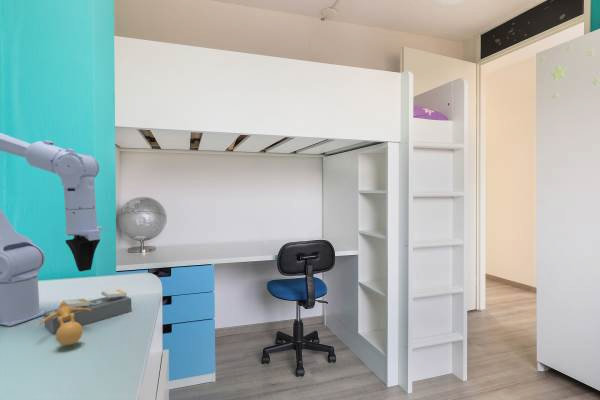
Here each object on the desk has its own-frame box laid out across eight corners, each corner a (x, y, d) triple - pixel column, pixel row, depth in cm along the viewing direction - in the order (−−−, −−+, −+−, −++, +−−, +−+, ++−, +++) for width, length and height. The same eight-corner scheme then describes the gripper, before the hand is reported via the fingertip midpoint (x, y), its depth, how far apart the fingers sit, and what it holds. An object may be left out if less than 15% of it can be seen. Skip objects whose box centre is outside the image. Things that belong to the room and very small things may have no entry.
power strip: (53, 334, 67) (52, 317, 66) (44, 326, 70) (44, 310, 70) (131, 311, 78) (131, 297, 78) (120, 305, 82) (119, 292, 82)
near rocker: (67, 309, 69) (68, 303, 69) (61, 306, 72) (62, 300, 72) (89, 307, 72) (90, 301, 72) (83, 304, 75) (84, 298, 75)
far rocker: (107, 299, 75) (108, 293, 75) (101, 296, 77) (101, 290, 78) (126, 297, 78) (126, 292, 78) (119, 294, 81) (120, 289, 81)
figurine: (40, 343, 56) (34, 294, 64) (45, 366, 59) (38, 317, 67) (97, 325, 61) (85, 282, 69) (99, 347, 64) (87, 303, 72)
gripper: (113, 207, 73) (117, 270, 73) (89, 206, 82) (92, 262, 83) (76, 210, 67) (80, 278, 68) (54, 209, 77) (58, 268, 77)
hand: (84, 270), depth 75 cm, fingers closed
